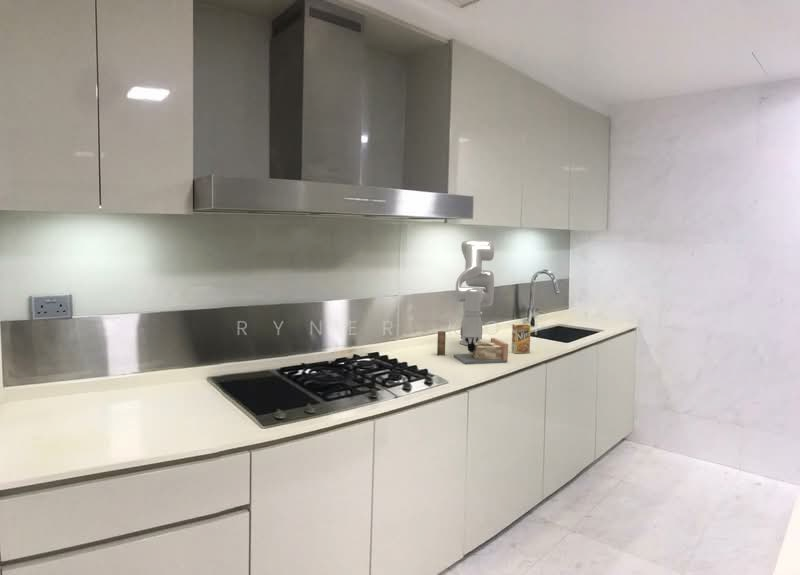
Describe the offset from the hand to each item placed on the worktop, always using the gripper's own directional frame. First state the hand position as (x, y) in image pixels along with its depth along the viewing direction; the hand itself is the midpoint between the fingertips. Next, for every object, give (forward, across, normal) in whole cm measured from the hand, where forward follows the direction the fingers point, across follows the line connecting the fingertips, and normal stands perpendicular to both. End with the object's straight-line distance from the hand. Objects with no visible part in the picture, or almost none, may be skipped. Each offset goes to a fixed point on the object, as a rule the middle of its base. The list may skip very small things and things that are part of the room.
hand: (470, 351), depth 248 cm
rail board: (+4, -5, -1) cm, 7 cm away
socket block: (+3, -8, -1) cm, 9 cm away
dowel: (+4, +11, -14) cm, 18 cm away
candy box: (+5, -33, -14) cm, 36 cm away
